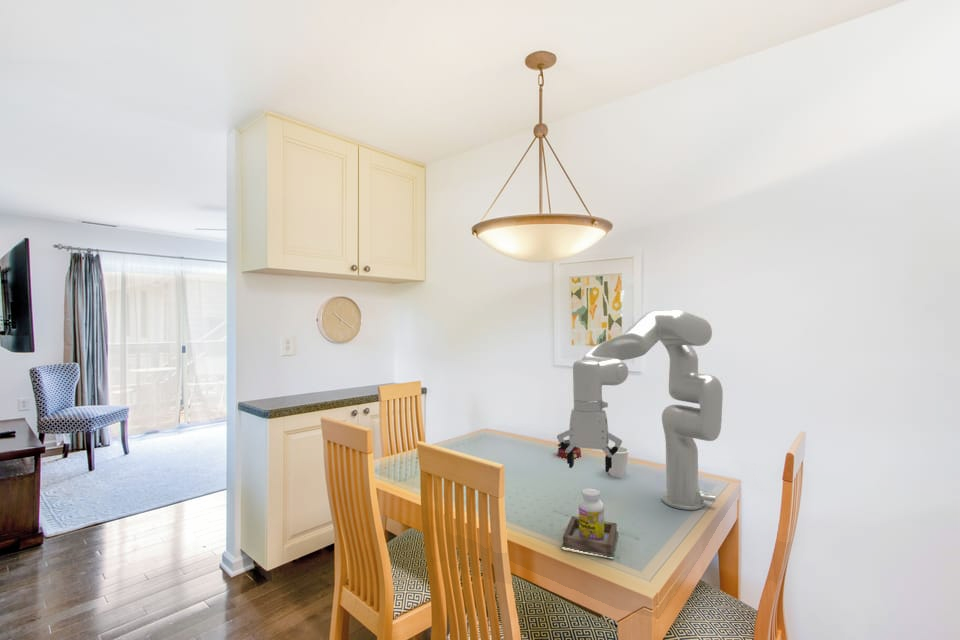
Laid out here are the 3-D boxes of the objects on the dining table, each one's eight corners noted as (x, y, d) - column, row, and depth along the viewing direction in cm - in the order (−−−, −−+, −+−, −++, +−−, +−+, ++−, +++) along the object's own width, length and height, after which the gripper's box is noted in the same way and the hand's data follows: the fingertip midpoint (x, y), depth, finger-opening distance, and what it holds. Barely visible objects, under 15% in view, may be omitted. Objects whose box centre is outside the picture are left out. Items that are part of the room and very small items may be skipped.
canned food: (559, 468, 190) (548, 446, 191) (569, 459, 198) (558, 439, 200) (580, 460, 183) (568, 438, 185) (589, 451, 191) (578, 430, 193)
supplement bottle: (574, 538, 118) (573, 491, 118) (587, 530, 123) (586, 484, 123) (596, 547, 114) (595, 498, 113) (609, 538, 118) (608, 491, 118)
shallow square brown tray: (618, 535, 122) (618, 522, 122) (613, 560, 110) (613, 546, 110) (571, 527, 127) (570, 515, 127) (561, 550, 115) (561, 536, 115)
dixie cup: (625, 480, 161) (625, 453, 161) (603, 476, 166) (603, 450, 166) (631, 473, 168) (631, 447, 168) (610, 469, 173) (609, 444, 173)
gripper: (622, 404, 118) (623, 467, 118) (559, 401, 125) (560, 460, 125) (619, 410, 111) (621, 477, 111) (553, 406, 118) (554, 469, 118)
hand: (589, 468), depth 118 cm, fingers open, 9 cm apart
